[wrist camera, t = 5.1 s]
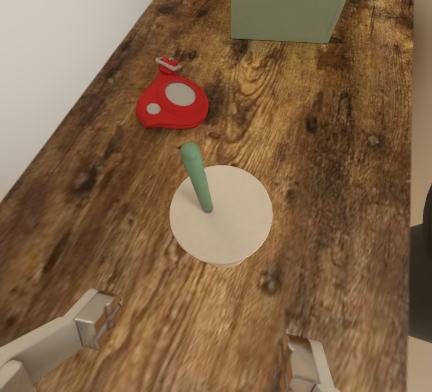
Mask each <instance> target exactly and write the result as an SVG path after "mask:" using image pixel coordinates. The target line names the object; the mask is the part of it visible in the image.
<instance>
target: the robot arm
mask: <svg viewBox="0 0 432 392" xmlns="http://www.w3.org/2000/svg"><path fill="white" fill-rule="evenodd" d="M120 300H121V299H120V295H116V294H112V293H108V292H104V291H101V290H96V289H92V288H91V289H89V290H88V291H87V292H86V293H85V294H84V295H83V296H82V297H81V298H80V299H79V300H78V301H77V302H76V303H75V304H74V305H73V306H72V308H71V309H70V310H69V311H68V312H67V313H66V314H65V315H64V316H63V317H58V318H56V319H54V320H52V321H50V322H49V323H47V324H45V325H43V326H41V327H39V328H37V329H35V330H33V331H31V332H29V333H27V334H25V335H24V336H22V337H20V338H18V339H16V340H14V341H12V342H10V343H8V344H6V345H4V346H2V347H0V392H37V391H36V389H35V387H34V384H35V383H37V382H38V381H39V380H41V379H42V378H43V377H45V376H46V375H47V374H49V373H50V372H51V371H53V370H54V369H55V368H57V367H58V366H59V365H61V364H62V363H63V362H64V361H66V360H67V359H68V358H70V357H71V356H72V355H74V354H75V353H76V352H78V351H79V350H80V349H82V348H83V347H87V348H91V349H96V350H100V349H101V347H102V346H103V344H104V343H105V341H106V340H107V338H108V337H109V330H111V329H112V328H114V327H115V326H116V324H117V323H118V321H119V319H120V316H121V313H122V306H121V305H120V304H119V302H120ZM82 346H83V347H82ZM278 363H279V369H280V371H281V373H282V377H281V380H280V385H281V392H340V390H339V389H337V388H335V387H334V384H333V380H332V377H331V373H330V370H329V367H328V363H327V360H326V356H325V353H324V350H323V346H322V344H321V342H319V341H315V340H311V339H307V338H303V337H299V336H294V335H289V334H284V336H283V343H282V344H280V348H279V354H278Z"/></svg>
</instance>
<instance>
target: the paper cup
mask: <svg viewBox="0 0 432 392" xmlns="http://www.w3.org/2000/svg"><path fill="white" fill-rule="evenodd" d="M180 154H181V157H182V160H183V162H184V165H185V167H186V170H187V172H188V175H189V177H188V178H187V179H185V180H184V181H183V182H182V184H181V185H180V186H179V187H178V189H177V190H176V192H175V194H174V196H173V199H172V202H171V206H170V214H169V216H170V225H171V229H172V232H173V234H174V236H175V238H176V240H177V242H178V243H179V245H180V246H181V247H182V248H183V249H184V250H185V251H186V252H187V253H189V254H190V255H191V256H193V257H195V258H196V259H198V260H200V261H203V262H205V263H209V264H211V265H213V266H215V267H218V268H231V267H234V266H236V265H238V264H240V263H241V262H242V261H244V260H245V259H246V258H247V257H249V256H251V255H252V254H253V253H254V252H255V251H257V250H258V248H259V247H260V246H261V245H262V244H263V242H264V241H265V239H266V238H267V236H268V234H269V231H270V228H271V224H272V216H273V211H272V204H271V200H270V198H269V195H268V193H267V191H266V189H265V188H264V186H263V185H262V184H261V183H260V182H259V181H258V180H257V179H256V178H255V177H254V176H253V175H251V174H250V173H248V172H246V171H244V170H242V169H240V168H236V167H232V166H225V165H218V166H210V167H207V168H204V165H203V160H202V156H201V152H200V148H199V147H198V146H197V145H196V144H195V143H192V142H188V143H185V144H184V145H183V146H182V147H181V150H180Z"/></svg>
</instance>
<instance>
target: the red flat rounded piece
mask: <svg viewBox="0 0 432 392" xmlns="http://www.w3.org/2000/svg"><path fill="white" fill-rule="evenodd" d="M155 61H156V62H158V63H159V70H160V72H159V74H158V76H157V78H156V80H155V81H154V82H153V83H152V84H151V85H150V86H149V87H148V88H147V89H146V90H145V92H144V93H143V94H142V95H141V97H140V98H139V100H138V103H137V108H136V116H137V117H138V119H139V120H140V122H141V123H142V125H143V126H144V127H145V128H148V127H164V128H170V129H188V128H194V127H197V126H198V125H200V124H201V123H202V122H203V121H204V120H205V118H206V116H207V112H208V107H209V104H208V99H207V96H206V94H205V93H204V91H203V90H202V89H201V88H200V87H199V86H198V85H197V84H196V83H194V82H193V81H191V80H189V79H187V78H184V77H180V76H177V70H179V69H181V66H180V65H179V64H178V61H176V60H174V59H173V58H172V57H171V58H167V57H160V58H156V59H155Z"/></svg>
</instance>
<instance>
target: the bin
mask: <svg viewBox="0 0 432 392" xmlns="http://www.w3.org/2000/svg"><path fill="white" fill-rule="evenodd" d="M345 1H346V0H231V38H234V39H252V40H270V41H288V42H307V43H325V44H328V42H329V39H330V37H331V35H332V32H333V30H334V28H335V25H336V23H337V21H338V18H339V16H340V13H341V11H342V9H343V6H344V4H345Z"/></svg>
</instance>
